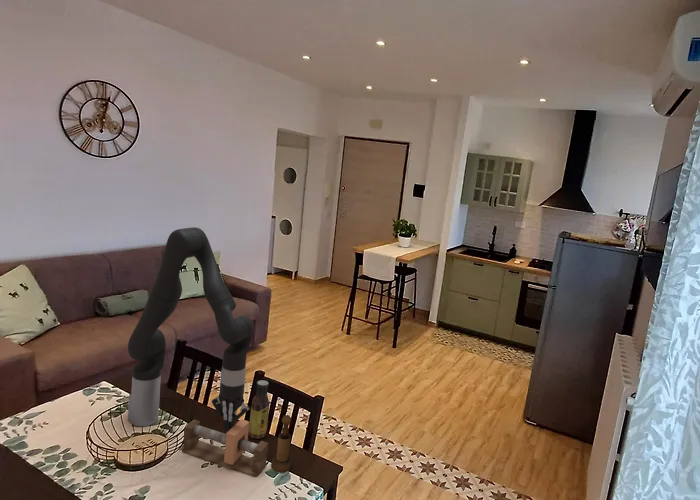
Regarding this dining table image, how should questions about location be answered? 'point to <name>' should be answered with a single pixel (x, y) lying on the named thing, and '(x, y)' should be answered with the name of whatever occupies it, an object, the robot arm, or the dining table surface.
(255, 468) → the pipe stand
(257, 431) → the sauce bottle
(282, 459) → the wooden pepper mill
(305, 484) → the dining table surface
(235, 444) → the collar
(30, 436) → the dining table surface
